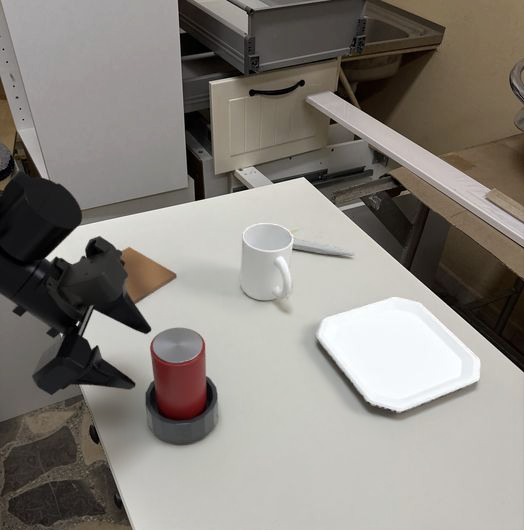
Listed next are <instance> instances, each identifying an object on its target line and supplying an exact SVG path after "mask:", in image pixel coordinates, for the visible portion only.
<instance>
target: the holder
mask: <svg viewBox="0 0 524 530" xmlns="http://www.w3.org/2000/svg"><path fill="white" fill-rule="evenodd" d="M218 398H219V397H218V390H217V386H216V385H215V383H214V382H213V381H212V379H211V378H210V377H209V376H207V375H206V400H207V410H206V411H205V412H204V413H203V414H202V415H200V416H197V417H195V418H193V419H190V420H182V421H175V420H170V419H166V418H164V417H162V416H161V415H159V414H158V407H157V399H156V391H155V383H154V379H153V380H152V381H151V382H150V383H149V385H148V387H147V389H146V391H145V394H144V404H145V410H146V411H145V413H146V418H147V424H148V425H149V428H150V430H151V432H152V434H154V435H155V437H157V438H158V439H159V440H161V441H162V442H165V443H167V444H171V445H176V446H187V445H192V444H196V443H198V442H200V441H202V440H204V439H205V438H207V436H209V435H210V434H211V432H212V431H213V430H214V429H215V427H216V424H217V421H218V415H219V413H218V412H219V410H218V409H219V405H218V404H219V399H218Z"/></svg>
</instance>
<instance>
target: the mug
mask: <svg viewBox="0 0 524 530" xmlns="http://www.w3.org/2000/svg"><path fill="white" fill-rule="evenodd" d="M293 239H294V235H293V233H292V232H291V231H290V230H289V229H288V228H286V227H284V226H282V225H280V224H277V223H271V222H260V223H254V224H251V225H249V226H248V227H246V228H245V229H244V230H243V232H242V234H241V255H240V256H241V257H240V259H241V260H240V287H241V289H242V291H243V292H244V293H245V295H246V296H248V297H250V298H251V299H254V300H258V301H273V300H276V299H280V300H285V299H287V298H288V297H289V296H290V294H291V291H292V282H293V281H292V274H291V263H292V255H293V248H292V247H293Z"/></svg>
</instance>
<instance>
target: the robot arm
mask: <svg viewBox="0 0 524 530" xmlns="http://www.w3.org/2000/svg"><path fill="white" fill-rule="evenodd" d="M82 221H83V211H82V209H81V206H80V204H79V202H78V201H77V199H76V198H75V196H74V195H73V194H72V193H71V192H70V191H69V190H68V188H66V187H65V186H64V185H62V184H61V183H56V182H55V181H53V180H52V179H51V180H50V179H48V178H46V177H41V176H39V177H37V176H36V177H32V176H31V177H30V176H29V174H27V173H26V172H25V171H23V170H21V169H18V170H17V171H16V172H15V174H13V176H12V177H11V179H10V180H8V182H7V184H6V185H5V186H4V187H3V189H0V295H1V296H2V297H4V298H5V299H7V300H9V301H10V302H11V303H13V304H15V305H14V306H13V308H12V310H11V312H12V313H13V314H15V315H16V316H18V317H20V318H22V316H23V315H24V314H25V313H28V314H30V315H31V316H33V317H35V318H36V319H37V320H39V321H41V322H42V323H44V324H45V325H47V326H48V328H47V330H46V332H45V334H46V335H48V336H49V337H51V338H52V339H55V338H56V337H58V336H59V335H60V334H62V336H61V337H60V338H59V339H57V340H56V341H55V342H54V343H53V344H52V345H50V346H49V347H47V349H45V350H44V351H43V352H42V354H41V356H40V358H39V361H38V362H37V365H36V366H35V368H34V371H33V372H32V375H31V377H32V380H33V383H34V385H35V386H36V387H37V388H38V389H39V390H42V391H44V393H47V394H49V395H51V396H53V395H54V394H56V393H57V392H59V390H65V389H66V388H68V387H69V386H71V385H75V386H81V385H82V386H97V387H105V388H112V389H121V390H128V391H129V390H132V389H134V388H136V385H137V383H136V382H135V381H134V380H133V379H132V378H131V377H129V376H128V375H127V374H126V373H124V372H123V371H121V370H120V369H118V368H117V367H116V366H114V365H113V364H111V363H110V362H108V361H107V360H105V358H103V357H102V353H101V350H100V349H101V348H100V346H99V345H98V344H97V345H95V346H94V347H91V344H90V342H89V340H88V339H86V338H85V337H84V334H85V333H86V329H87V327H88V325H89V322H90V320H91V317H92V315H93V312H94V311H96V312H98V313H100V314H102V315H103V316H105V317H108V318H110V319H111V320H114V321H116V322H118V323H120V324H122V325H124V326H126V327H128V328H130V329H132V330H134V331H136V332H139V333H141V334H144V335H148V334H149V333H151V331H152V327H151V325H150V324H149V322H148V321H147V319H146V318H145V316H144V315H143V314H142V313H141V311H140V309H139V308H138V307H137V305H136V303H135V304H134V302H133V301H132V299H131V297H130V296H129V294H128V292H127V289H126V279H127V277H128V273H127V271H126V270H125V269H124V265H125V262H124V261H123V260H122V259H121V257H122V252H121V251H122V250H120V249H117V248H116V246H115V245H114V244H113V243H111V242H109V240H107V239H105V238H104V237H102V236H101V235H99V236H96V237H93V238H90V239H89V240H88V242H87V244H86V246H85V248H84V252H85V255H81V257H80V259H79V260H78V261H77V262H74V263H70V262H69V261H67V260H65V258H62V257H58V256H57V255H55V257H54V258H52V260H48V259H47V257H49V255H51V253H53V252H54V250H56V249H57V248H58V247H59V246H60V245H61V244H62V243H63V242H64V241H65V240H66V239H67V238H68V237H69V236H70V235H71V234H72V233H73V232H74V231H75V230H76V229H77V228H78V227H79V226H80V225H81V224H82Z"/></svg>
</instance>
